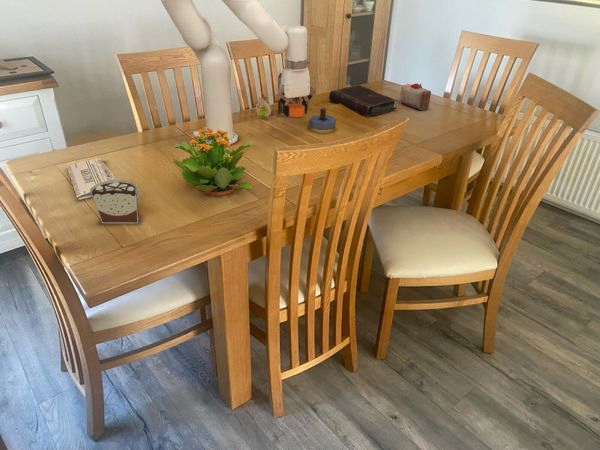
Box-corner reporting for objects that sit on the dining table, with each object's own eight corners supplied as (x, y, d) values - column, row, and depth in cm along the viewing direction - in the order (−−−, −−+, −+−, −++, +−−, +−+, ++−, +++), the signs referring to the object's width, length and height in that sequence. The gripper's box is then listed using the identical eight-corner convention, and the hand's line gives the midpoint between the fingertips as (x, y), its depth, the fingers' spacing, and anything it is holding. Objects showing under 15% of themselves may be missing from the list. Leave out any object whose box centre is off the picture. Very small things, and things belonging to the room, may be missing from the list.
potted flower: (277, 192, 139) (277, 136, 130) (210, 220, 125) (205, 160, 115) (226, 164, 154) (222, 113, 144) (161, 187, 140) (153, 131, 130)
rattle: (280, 117, 193) (280, 89, 187) (265, 121, 189) (264, 93, 182) (269, 112, 198) (269, 85, 192) (253, 116, 193) (253, 88, 187)
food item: (396, 102, 214) (399, 80, 209) (409, 100, 218) (412, 78, 212) (418, 111, 204) (422, 88, 199) (431, 108, 208) (435, 86, 203)
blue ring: (317, 130, 178) (317, 124, 176) (305, 122, 185) (306, 116, 183) (339, 127, 181) (339, 121, 180) (327, 119, 188) (327, 113, 187)
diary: (366, 118, 196) (367, 106, 193) (328, 101, 212) (329, 90, 210) (397, 110, 205) (399, 98, 202) (359, 95, 222) (360, 84, 219)
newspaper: (123, 190, 137) (120, 183, 136) (79, 204, 133) (76, 196, 131) (107, 160, 153) (105, 153, 152) (68, 171, 149) (65, 164, 147)
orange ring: (291, 118, 169) (291, 109, 168) (283, 112, 174) (283, 104, 173) (306, 115, 172) (307, 107, 170) (299, 110, 177) (299, 102, 175)
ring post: (316, 134, 178) (317, 114, 174) (305, 126, 186) (305, 106, 181) (339, 131, 182) (341, 111, 178) (327, 122, 189) (328, 103, 185)
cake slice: (149, 211, 128) (144, 178, 122) (144, 223, 123) (137, 189, 117) (103, 211, 127) (96, 178, 122) (96, 223, 122) (87, 189, 117)
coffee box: (300, 112, 199) (301, 73, 191) (299, 117, 194) (300, 77, 185) (279, 110, 200) (279, 72, 191) (277, 116, 195) (277, 76, 186)
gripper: (313, 59, 169) (311, 108, 179) (268, 64, 163) (269, 114, 173) (322, 64, 164) (320, 114, 173) (277, 69, 157) (277, 120, 167)
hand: (295, 113), depth 173 cm, fingers closed on orange ring, 6 cm apart
